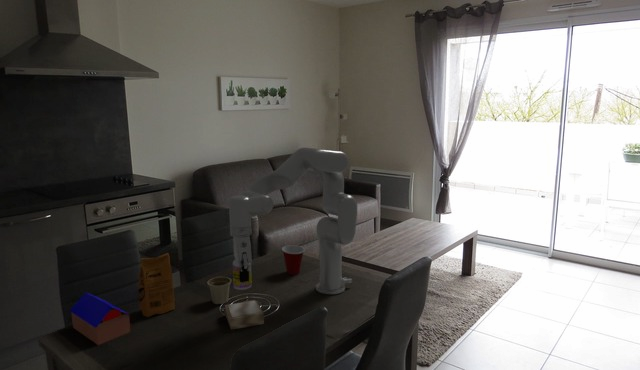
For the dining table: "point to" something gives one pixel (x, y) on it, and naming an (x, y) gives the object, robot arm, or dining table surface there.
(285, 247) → the plastic cup
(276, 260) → the dining table surface
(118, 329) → the house
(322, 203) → the robot arm
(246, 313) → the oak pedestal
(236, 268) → the supplement bottle
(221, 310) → the dining table surface
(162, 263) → the coffee package
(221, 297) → the flower pot
